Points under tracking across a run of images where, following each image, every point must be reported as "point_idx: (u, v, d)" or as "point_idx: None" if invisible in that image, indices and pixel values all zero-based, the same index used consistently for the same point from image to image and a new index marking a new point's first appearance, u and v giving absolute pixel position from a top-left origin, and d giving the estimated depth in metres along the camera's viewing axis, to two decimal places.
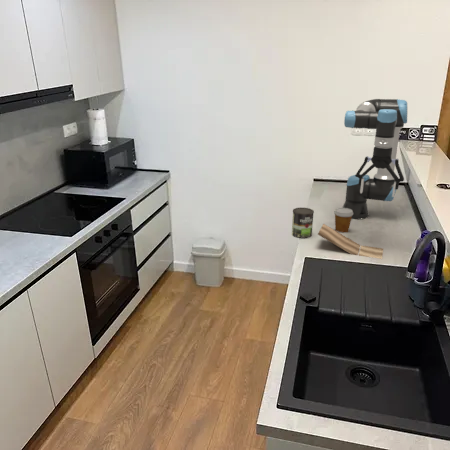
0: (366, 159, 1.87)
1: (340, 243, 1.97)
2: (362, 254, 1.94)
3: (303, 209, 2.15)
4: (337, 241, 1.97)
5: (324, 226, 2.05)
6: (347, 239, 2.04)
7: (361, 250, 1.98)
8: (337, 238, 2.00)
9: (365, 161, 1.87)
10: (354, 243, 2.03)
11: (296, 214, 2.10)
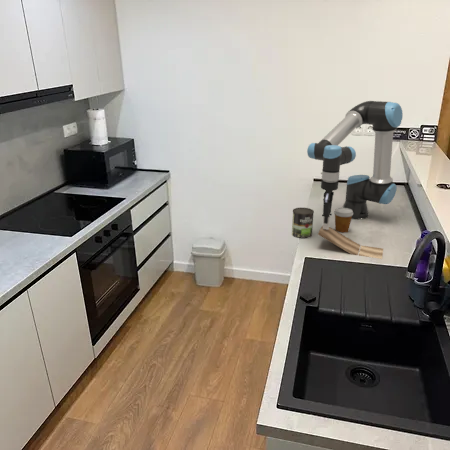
0: None
1: (340, 243, 1.97)
2: (362, 254, 1.94)
3: (303, 209, 2.15)
4: (337, 241, 1.97)
5: None
6: (347, 239, 2.04)
7: (361, 250, 1.98)
8: (337, 238, 2.00)
9: None
10: (354, 243, 2.03)
11: (296, 214, 2.10)
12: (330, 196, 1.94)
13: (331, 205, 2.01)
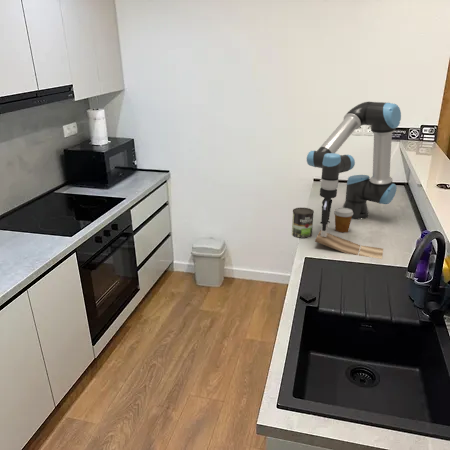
0: None
1: (339, 246, 1.98)
2: (362, 254, 1.94)
3: (303, 209, 2.15)
4: (335, 244, 1.98)
5: None
6: (346, 241, 2.04)
7: (361, 250, 1.98)
8: (335, 242, 2.01)
9: None
10: (353, 244, 2.03)
11: (296, 214, 2.10)
12: None
13: (329, 212, 2.02)
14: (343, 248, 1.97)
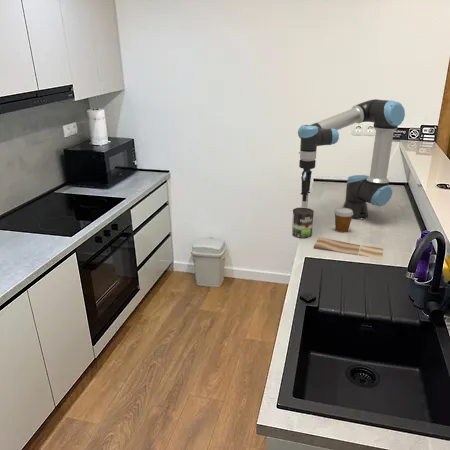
0: None
1: (338, 249, 1.98)
2: (362, 254, 1.94)
3: (303, 209, 2.15)
4: (334, 248, 1.99)
5: (319, 239, 2.08)
6: (345, 243, 2.05)
7: (361, 250, 1.98)
8: (334, 245, 2.02)
9: None
10: (353, 245, 2.03)
11: (296, 214, 2.10)
12: (308, 174, 2.03)
13: None
14: (342, 250, 1.97)
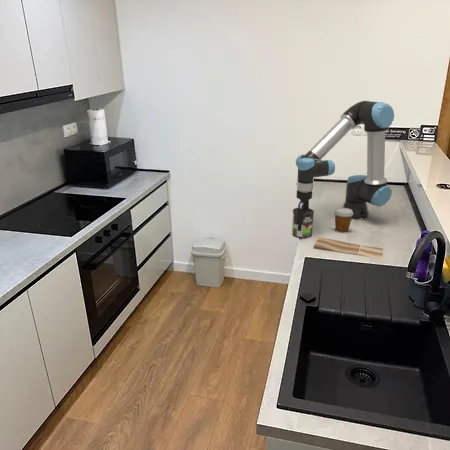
0: None
1: (338, 249, 1.98)
2: (362, 254, 1.94)
3: None
4: (334, 248, 1.99)
5: (319, 239, 2.08)
6: (345, 243, 2.05)
7: (361, 250, 1.98)
8: (334, 245, 2.02)
9: None
10: (353, 245, 2.03)
11: (296, 214, 2.10)
12: (305, 204, 2.09)
13: None
14: (342, 250, 1.97)
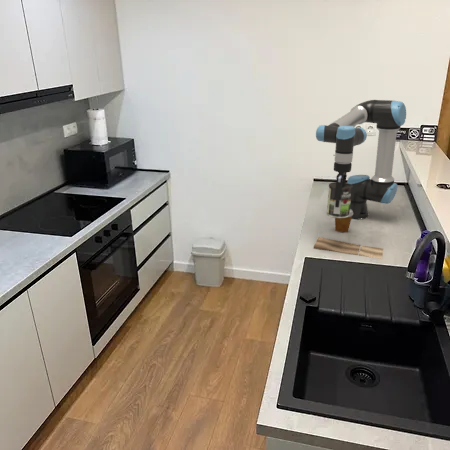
0: None
1: (338, 249, 1.98)
2: (362, 254, 1.94)
3: None
4: (334, 248, 1.99)
5: (319, 239, 2.08)
6: (345, 243, 2.05)
7: (361, 250, 1.98)
8: (334, 245, 2.02)
9: None
10: (353, 245, 2.03)
11: (333, 189, 1.89)
12: (343, 178, 1.89)
13: None
14: (342, 250, 1.97)
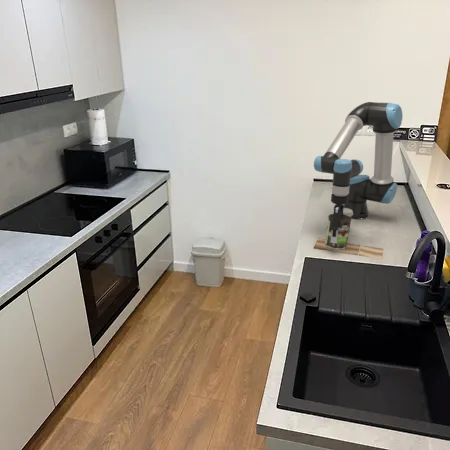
0: None
1: None
2: (362, 254, 1.94)
3: None
4: None
5: (319, 239, 2.08)
6: None
7: (361, 250, 1.98)
8: None
9: None
10: (353, 245, 2.03)
11: None
12: (340, 209, 1.94)
13: None
14: (342, 251, 1.97)
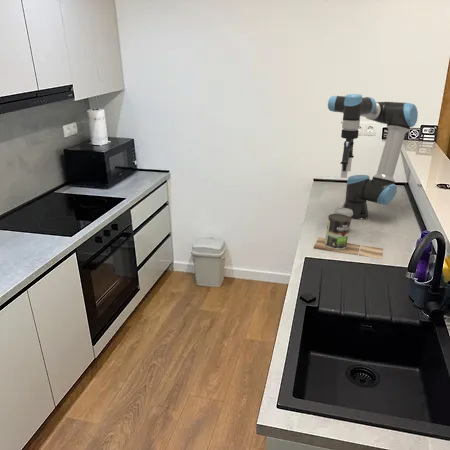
0: None
1: None
2: (362, 254, 1.94)
3: (339, 216, 2.00)
4: None
5: (319, 239, 2.08)
6: None
7: (361, 250, 1.98)
8: None
9: None
10: (353, 245, 2.03)
11: (333, 221, 1.95)
12: (350, 144, 1.97)
13: (352, 149, 2.08)
14: (342, 251, 1.97)
